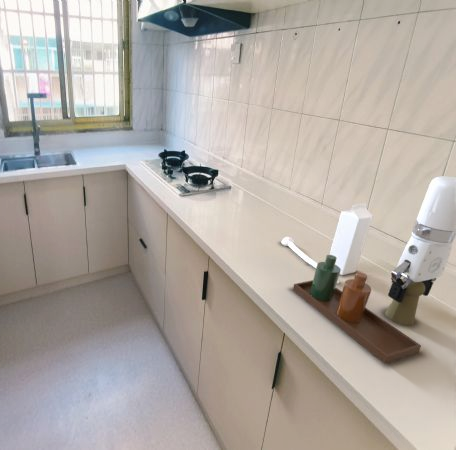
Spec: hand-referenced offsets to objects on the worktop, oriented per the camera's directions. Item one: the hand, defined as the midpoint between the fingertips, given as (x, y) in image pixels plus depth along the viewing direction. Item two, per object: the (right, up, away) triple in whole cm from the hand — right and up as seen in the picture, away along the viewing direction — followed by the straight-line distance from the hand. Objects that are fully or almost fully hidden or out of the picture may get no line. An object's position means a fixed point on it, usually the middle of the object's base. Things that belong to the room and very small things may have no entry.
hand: (407, 295), depth 83 cm
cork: (0, -6, +3) cm, 7 cm away
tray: (-14, -6, +2) cm, 15 cm away
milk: (-3, +3, +24) cm, 25 cm away
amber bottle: (-14, -5, +2) cm, 15 cm away
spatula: (-11, +5, +28) cm, 31 cm away
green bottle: (-17, -2, +9) cm, 19 cm away
